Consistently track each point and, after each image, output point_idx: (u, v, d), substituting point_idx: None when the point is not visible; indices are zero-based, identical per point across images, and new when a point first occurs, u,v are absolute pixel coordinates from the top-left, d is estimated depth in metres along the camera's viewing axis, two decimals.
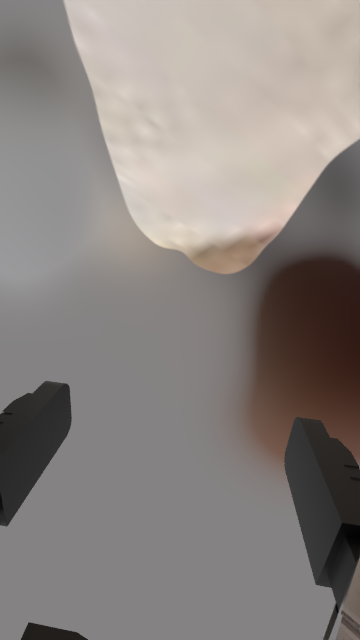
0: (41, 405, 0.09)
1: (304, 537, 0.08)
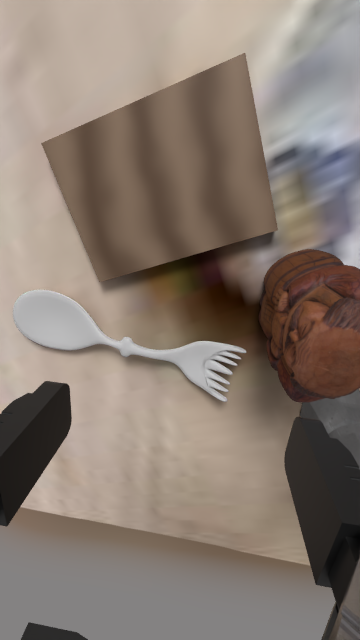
0: (41, 405, 0.09)
1: (304, 538, 0.08)
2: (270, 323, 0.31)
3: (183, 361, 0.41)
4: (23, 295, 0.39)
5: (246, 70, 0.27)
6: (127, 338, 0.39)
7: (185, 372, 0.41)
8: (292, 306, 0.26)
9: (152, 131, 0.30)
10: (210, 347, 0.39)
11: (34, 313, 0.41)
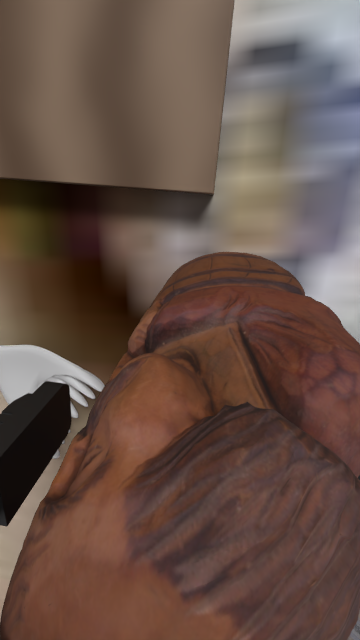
0: (41, 405, 0.09)
1: None
2: None
3: (3, 370, 0.23)
4: None
5: None
6: None
7: (2, 390, 0.23)
8: (150, 352, 0.10)
9: None
10: (50, 362, 0.22)
11: None
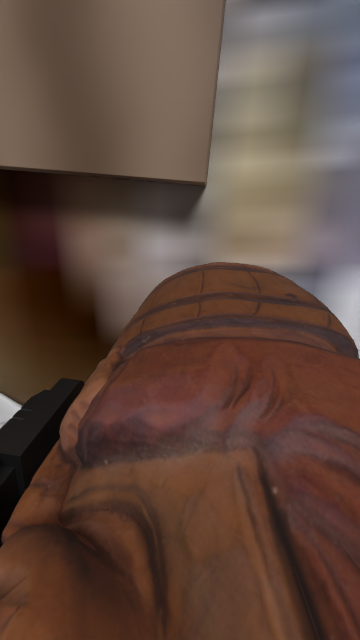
0: (60, 401, 0.09)
1: None
2: None
3: None
4: None
5: None
6: None
7: None
8: (87, 466, 0.05)
9: None
10: None
11: None
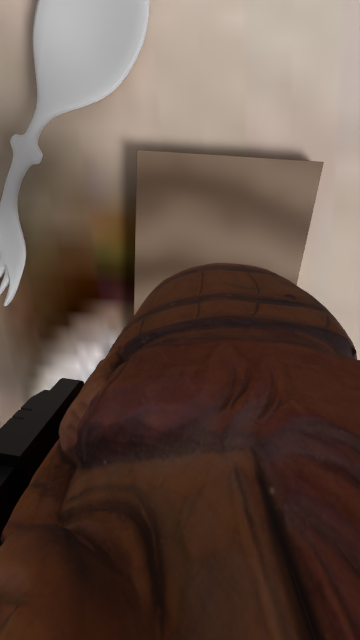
0: (59, 401, 0.09)
1: None
2: None
3: None
4: None
5: None
6: (39, 159, 0.26)
7: None
8: (86, 466, 0.05)
9: None
10: (15, 265, 0.31)
11: None
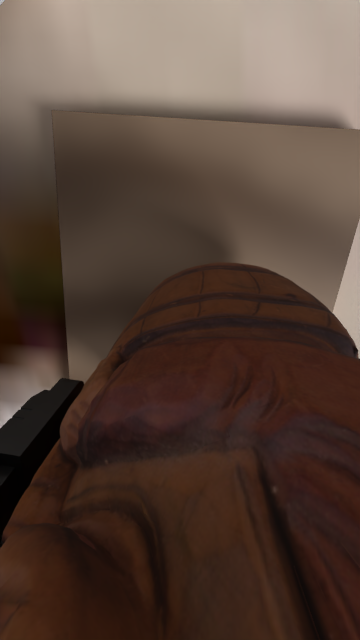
0: (60, 401, 0.09)
1: None
2: None
3: None
4: None
5: None
6: None
7: None
8: (87, 465, 0.05)
9: None
10: None
11: None
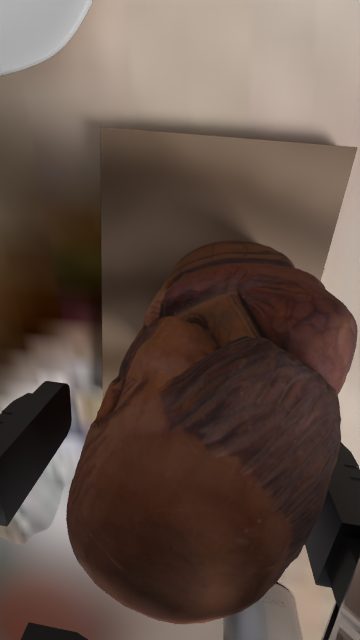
0: (41, 405, 0.09)
1: None
2: None
3: None
4: None
5: None
6: None
7: None
8: None
9: None
10: None
11: None
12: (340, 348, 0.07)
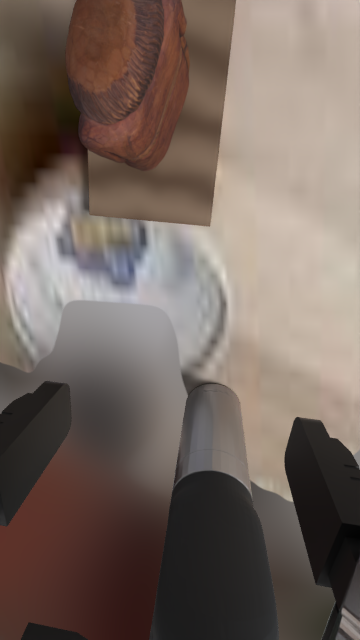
0: (41, 405, 0.09)
1: (304, 538, 0.08)
2: None
3: None
4: None
5: (199, 224, 0.37)
6: None
7: None
8: None
9: (195, 134, 0.34)
10: None
11: None
12: None
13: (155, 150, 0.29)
